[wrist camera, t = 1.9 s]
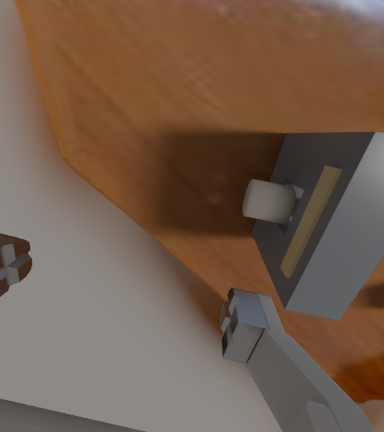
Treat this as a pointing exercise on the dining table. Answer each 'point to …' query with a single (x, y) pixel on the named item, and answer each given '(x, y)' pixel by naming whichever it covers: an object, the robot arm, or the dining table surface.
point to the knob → (269, 201)
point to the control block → (326, 220)
